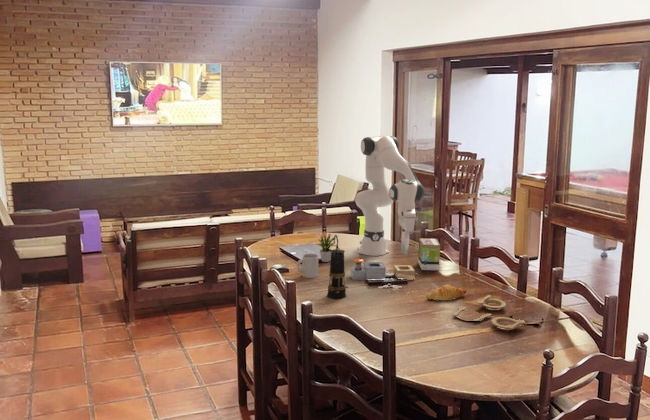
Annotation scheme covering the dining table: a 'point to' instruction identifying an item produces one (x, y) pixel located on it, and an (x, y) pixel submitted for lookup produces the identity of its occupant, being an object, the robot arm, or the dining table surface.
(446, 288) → the croissant
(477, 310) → the dining table surface
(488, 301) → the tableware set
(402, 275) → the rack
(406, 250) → the banded metal cylinder
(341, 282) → the lantern
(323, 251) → the house plant
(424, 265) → the tea box
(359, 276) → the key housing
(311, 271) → the mug
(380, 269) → the socket block
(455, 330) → the dining table surface
